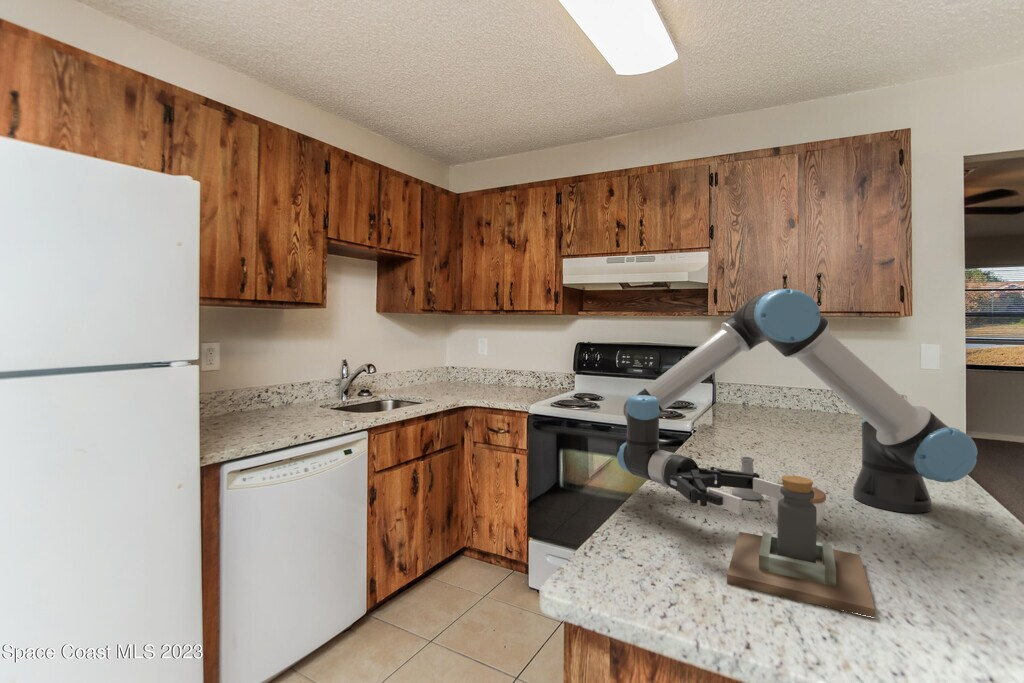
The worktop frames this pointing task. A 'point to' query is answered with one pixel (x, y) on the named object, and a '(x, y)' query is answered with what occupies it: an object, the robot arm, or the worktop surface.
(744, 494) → the flask
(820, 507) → the lidded jar
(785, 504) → the bottle
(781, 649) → the worktop surface
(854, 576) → the socket board
